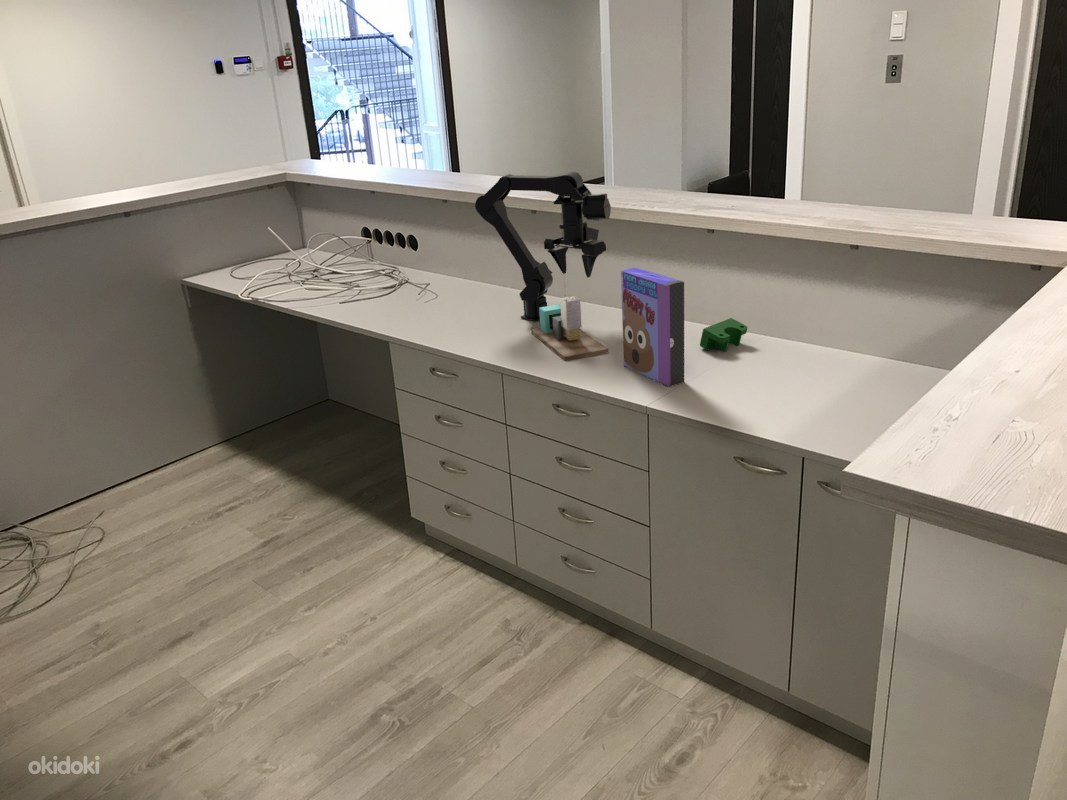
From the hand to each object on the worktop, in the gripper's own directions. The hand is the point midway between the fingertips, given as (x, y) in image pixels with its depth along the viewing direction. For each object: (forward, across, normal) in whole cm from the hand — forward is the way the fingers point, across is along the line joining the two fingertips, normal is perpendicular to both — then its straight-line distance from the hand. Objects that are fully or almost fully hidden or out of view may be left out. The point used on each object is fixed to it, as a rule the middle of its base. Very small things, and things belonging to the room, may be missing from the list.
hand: (576, 275), depth 246 cm
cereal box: (+14, -43, +22) cm, 51 cm away
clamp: (+14, -46, -3) cm, 49 cm away
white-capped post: (+11, -8, +15) cm, 20 cm away
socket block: (+12, -2, +12) cm, 17 cm away
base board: (+13, -10, +16) cm, 23 cm away
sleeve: (+12, -9, +16) cm, 22 cm away
